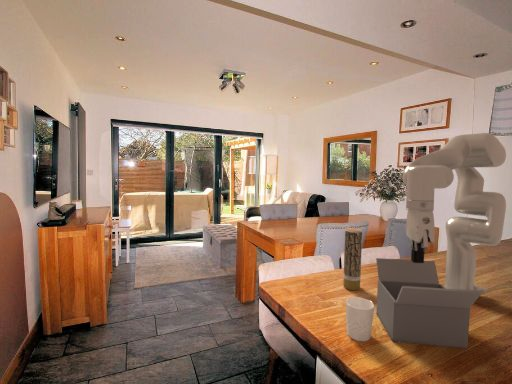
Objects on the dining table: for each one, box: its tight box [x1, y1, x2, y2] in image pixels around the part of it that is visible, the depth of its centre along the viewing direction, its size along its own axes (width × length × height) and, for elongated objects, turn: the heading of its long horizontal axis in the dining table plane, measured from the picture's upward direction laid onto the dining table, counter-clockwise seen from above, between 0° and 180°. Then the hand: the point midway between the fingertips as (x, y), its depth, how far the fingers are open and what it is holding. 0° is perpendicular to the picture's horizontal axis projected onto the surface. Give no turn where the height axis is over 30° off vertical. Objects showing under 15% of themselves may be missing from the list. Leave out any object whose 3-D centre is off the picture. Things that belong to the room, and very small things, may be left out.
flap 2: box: [396, 286, 482, 310], centre depth 76 cm, size 8×19×1 cm
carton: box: [376, 280, 471, 349], centre depth 87 cm, size 20×16×12 cm
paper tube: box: [342, 227, 363, 291], centre depth 118 cm, size 7×7×25 cm
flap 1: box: [375, 257, 440, 284], centre depth 97 cm, size 8×19×1 cm
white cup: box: [345, 296, 375, 342], centre depth 84 cm, size 8×8×10 cm
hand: (417, 262), depth 90 cm, fingers closed
